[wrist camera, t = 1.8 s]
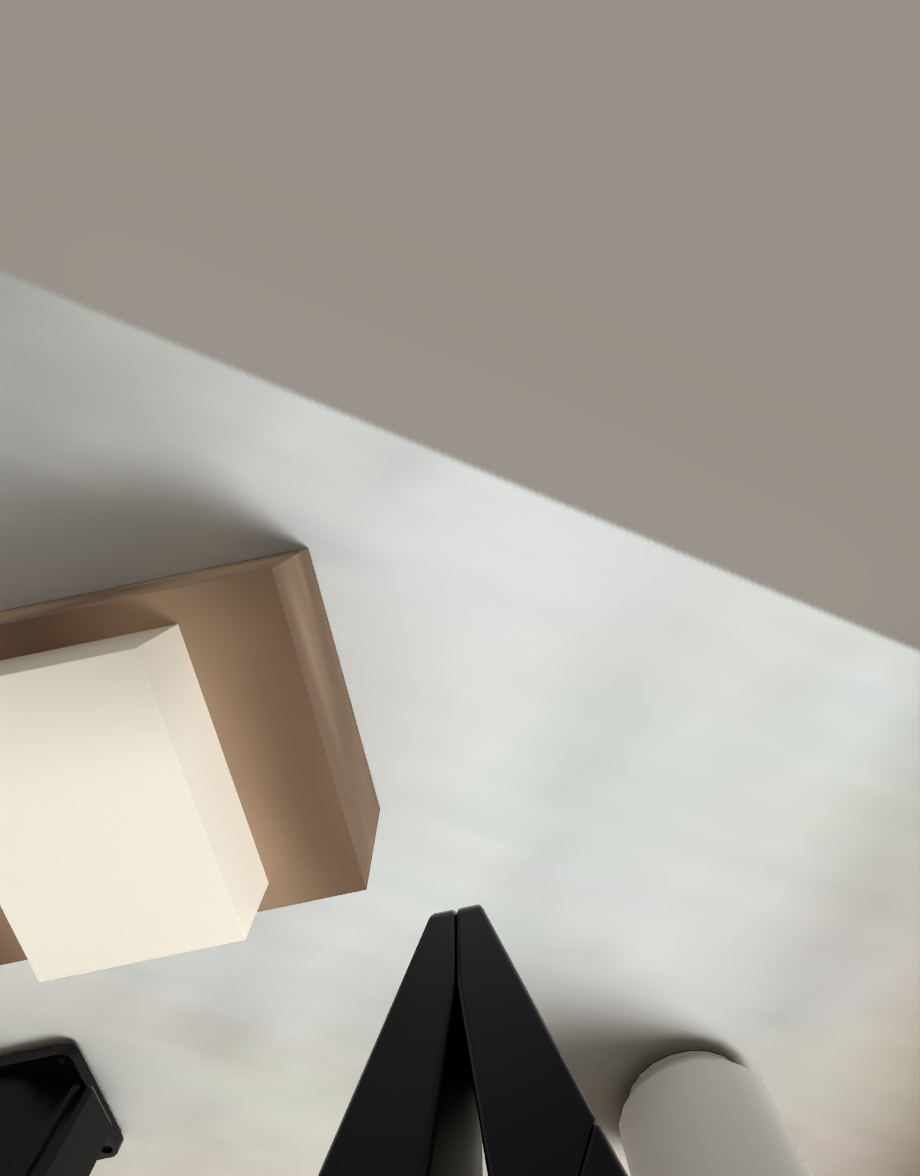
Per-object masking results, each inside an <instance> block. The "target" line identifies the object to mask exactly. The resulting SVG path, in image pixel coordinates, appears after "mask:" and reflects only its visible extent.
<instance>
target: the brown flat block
mask: <svg viewBox="0 0 920 1176" xmlns="http://www.w3.org/2000/svg"><path fill="white" fill-rule="evenodd" d="M175 624H178V626H179V628H180V631H181V634H182V637H183V640H184V643H185V646H186V648H187V651H188V654H189V657H190V660H191V663H192V666H193V668H194V671H195V674H196V677H197V680H198V683H199V686H200V688H201V691H202V694H203V697H204V700H205V703H206V706H207V708H208V711H209V714H210V717H211V720H212V723H213V726H214V728H215V731H216V734H217V737H218V740H219V743H220V746H221V748H222V751H223V754H224V757H225V760H226V763H227V766H228V768H229V771H230V774H231V777H232V780H233V783H234V786H235V788H236V791H237V794H238V797H239V800H240V803H241V806H242V808H243V811H244V814H245V817H246V820H247V823H248V826H249V828H250V831H251V834H252V837H253V840H254V843H255V846H256V848H257V851H258V854H259V857H260V860H261V863H262V866H263V868H264V871H265V874H266V877H267V880H268V883H269V884H268V886H267V888H266V891H265V893H264V896H263V898H262V901H261V903H260V905H259V908H258V910H257V912H260V911H265V910H270V909H274V908H279V907H284V906H289V905H294V904H299V903H303V902H308V901H313V900H318V899H323V898H328V897H333V896H337V895H342V894H347V893H352V892H357V891H362V890H366V889H367V883H368V877H369V871H370V865H371V859H372V853H373V847H374V842H375V836H376V830H377V824H378V818H379V812H380V807H379V804H378V800H377V797H376V793H375V789H374V786H373V782H372V778H371V775H370V771H369V767H368V764H367V760H366V757H365V753H364V749H363V746H362V742H361V738H360V735H359V731H358V727H357V724H356V720H355V716H354V713H353V709H352V706H351V702H350V698H349V695H348V691H347V687H346V684H345V680H344V676H343V673H342V669H341V666H340V662H339V658H338V655H337V651H336V647H335V644H334V640H333V636H332V633H331V629H330V625H329V622H328V618H327V615H326V611H325V607H324V604H323V600H322V596H321V593H320V589H319V585H318V582H317V578H316V575H315V571H314V567H313V564H312V560H311V556H310V553H309V549H308V548H305V549H300V550H295V551H290V552H286V553H281V554H276V555H271V556H266V557H261V558H256V559H252V560H247V561H242V562H237V563H232V564H227V565H222V566H218V567H213V568H208V569H203V570H198V571H193V572H188V573H184V574H179V575H174V576H169V577H164V578H159V579H154V580H150V581H145V582H140V583H135V584H130V585H125V586H120V587H116V588H111V589H106V590H101V591H96V592H91V593H86V594H82V595H77V596H72V597H67V598H62V599H57V600H52V601H48V602H43V603H38V604H33V605H28V606H23V607H18V608H14V609H9V610H4V611H0V661H1V660H5V659H10V658H15V657H20V656H25V655H30V654H35V653H39V652H44V651H49V650H54V649H59V648H64V647H69V646H73V645H78V644H83V643H88V642H93V641H98V640H103V639H107V638H112V637H117V636H122V635H127V634H132V633H137V632H141V631H146V630H151V629H156V628H161V627H166V626H171V625H175ZM22 960H27V957H26V955H25V953H24V951H23V949H22V947H21V945H20V943H19V941H18V939H17V937H16V935H15V933H14V931H13V929H12V927H11V926H10V924H9V922H8V920H7V918H6V916H5V914H4V912H3V910H2V908H1V906H0V965H3V964H8V963H13V962H18V961H22Z"/></svg>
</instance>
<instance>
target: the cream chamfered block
mask: <svg viewBox="0 0 920 1176" xmlns="http://www.w3.org/2000/svg"><path fill="white" fill-rule="evenodd" d="M268 884H269V883H268V880H267V877H266V874H265V871H264V868H263V866H262V863H261V860H260V857H259V854H258V851H257V848H256V846H255V843H254V840H253V837H252V834H251V831H250V828H249V826H248V823H247V820H246V817H245V814H244V811H243V808H242V806H241V803H240V800H239V797H238V794H237V791H236V788H235V786H234V783H233V780H232V777H231V774H230V771H229V768H228V766H227V763H226V760H225V757H224V754H223V751H222V748H221V746H220V743H219V740H218V737H217V734H216V731H215V728H214V726H213V723H212V720H211V717H210V714H209V711H208V708H207V706H206V703H205V700H204V697H203V694H202V691H201V688H200V686H199V683H198V680H197V677H196V674H195V671H194V668H193V666H192V663H191V660H190V657H189V654H188V651H187V648H186V646H185V643H184V640H183V637H182V634H181V631H180V628H179V626H178V624H175V625H171V626H166V627H161V628H156V629H151V630H146V631H141V632H137V633H132V634H127V635H122V636H117V637H112V638H107V639H103V640H98V641H93V642H88V643H83V644H78V645H73V646H69V647H64V648H59V649H54V650H49V651H44V652H39V653H35V654H30V655H25V656H20V657H15V658H10V659H5V660H1V661H0V906H1V908H2V910H3V912H4V914H5V916H6V918H7V920H8V922H9V924H10V926H11V927H12V929H13V931H14V933H15V935H16V937H17V939H18V941H19V943H20V945H21V947H22V949H23V951H24V953H25V955H26V957H27V959H28V961H29V963H30V965H31V967H32V969H33V971H34V973H35V975H36V976H37V978H38V980H39V982H44V981H48V980H53V979H58V978H63V977H68V976H73V975H78V974H82V973H87V972H92V971H97V970H102V969H107V968H111V967H116V966H121V965H126V964H131V963H136V962H141V961H145V960H150V959H155V958H160V957H165V956H170V955H174V954H179V953H184V952H189V951H194V950H199V949H204V948H208V947H213V946H218V945H223V944H228V943H233V942H237V941H242V940H246V937H247V935H248V932H249V930H250V927H251V925H252V923H253V920H254V918H255V915H256V913H257V910H258V908H259V905H260V903H261V901H262V898H263V896H264V893H265V891H266V888H267V886H268Z"/></svg>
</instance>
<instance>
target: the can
mask: <svg viewBox="0 0 920 1176" xmlns="http://www.w3.org/2000/svg"><path fill="white" fill-rule="evenodd" d="M619 1130H620V1136H621V1141H622V1145H623V1149H624V1152H625V1156H626V1159H627V1163H628V1167H629V1170H630V1174H631V1176H813V1174H812V1172H811V1170H810V1168H809V1166H808V1164H807V1163H806V1161H805V1159H804V1157H803V1155H802V1153H801V1151H800V1150H799V1148H798V1146H797V1144H796V1142H795V1140H794V1138H793V1137H792V1135H791V1133H790V1131H789V1129H788V1127H787V1125H786V1124H785V1122H784V1120H783V1118H782V1116H781V1114H780V1112H779V1111H778V1109H777V1107H776V1105H775V1103H774V1101H773V1099H772V1097H771V1096H770V1094H769V1092H768V1090H767V1089H766V1087H765V1085H764V1083H763V1082H762V1080H761V1078H759V1077H758V1076H757V1075H755V1074H754V1073H753V1072H751V1071H750V1070H749V1069H747V1068H746V1067H744V1066H742V1065H739V1064H736V1063H733V1062H731V1061H729V1060H728V1059H727V1058H725V1057H724V1056H721V1055H717V1054H714V1053H711V1052H706V1051H687V1052H683V1053H678V1054H673V1055H670V1056H668V1057H666V1058H663V1059H661V1060H659V1061H657V1062H655V1063H653V1064H652V1065H651V1066H650V1067H648V1068H647V1069H646V1070H645V1071H644V1072H642V1073H641V1074H640V1075H639V1077H638V1078H637V1080H636V1081H635V1083H634V1084H633V1086H632V1087H631V1091H630V1095H629V1098H628V1099H627V1101H626V1103H625V1105H624V1106H623V1110H622V1114H621V1118H620V1122H619Z"/></svg>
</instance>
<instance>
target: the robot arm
mask: <svg viewBox="0 0 920 1176" xmlns="http://www.w3.org/2000/svg"><path fill="white" fill-rule="evenodd" d="M123 1140H124V1139H123V1135H122V1133H121V1132H120V1130H119V1128H118V1126H117V1124H116V1122H115V1120H114V1118H113V1116H112V1114H111V1112H110V1110H109V1108H108V1106H107V1104H106V1102H105V1100H104V1098H103V1096H102V1094H101V1092H100V1090H99V1088H98V1086H97V1084H96V1082H95V1080H94V1078H93V1076H92V1074H91V1072H90V1070H89V1068H88V1066H87V1064H86V1062H85V1061H84V1059H83V1057H82V1055H81V1053H80V1051H79V1049H78V1048H77V1047H75V1046H74V1045H71V1044H63V1045H58V1046H53V1047H48V1048H44V1049H39V1050H34V1051H29V1052H24V1053H19V1054H15V1055H10V1056H5V1057H0V1176H89V1175H90V1173H91V1171H92V1169H93V1167H94V1165H95V1163H96V1161H97V1160H100V1159H105V1158H110V1157H113V1156H115V1155H116V1154H117V1153H118V1151H119V1149H120V1147H121V1144H122V1142H123ZM482 1142H483V1148H484V1154H485V1160H486V1166H487V1172H488V1176H628V1175H627V1173H626V1171H625V1169H624V1168H623V1166H622V1164H621V1162H620V1161H619V1159H618V1157H617V1155H616V1153H615V1151H614V1150H613V1148H612V1146H611V1144H610V1142H609V1140H608V1139H607V1137H606V1135H605V1133H604V1131H603V1129H602V1127H601V1126H600V1125H599V1124H597V1121H596V1117H595V1115H594V1113H593V1111H592V1110H591V1108H590V1106H589V1104H588V1102H587V1100H586V1098H585V1097H584V1095H583V1093H582V1091H581V1089H580V1087H579V1085H578V1084H577V1082H576V1080H575V1078H574V1076H573V1074H572V1072H571V1071H570V1069H569V1067H568V1065H567V1063H566V1061H565V1059H564V1058H563V1056H562V1054H561V1052H560V1050H559V1048H558V1046H557V1045H556V1043H555V1041H554V1039H553V1037H552V1035H551V1033H550V1032H549V1030H548V1028H547V1026H546V1024H545V1022H544V1021H543V1019H542V1017H541V1015H540V1013H539V1011H538V1009H537V1008H536V1006H535V1004H534V1002H533V1000H532V998H531V996H530V995H529V993H528V991H527V989H526V987H525V985H524V983H523V982H522V980H521V978H520V976H519V974H518V972H517V970H516V969H515V967H514V965H513V963H512V961H511V959H510V957H509V956H508V954H507V952H506V950H505V948H504V946H503V944H502V943H501V941H500V939H499V937H498V935H497V933H496V931H495V930H494V928H493V926H492V924H491V922H490V920H489V919H488V917H487V915H486V913H485V911H484V909H483V908H482V907H481V906H480V905H474V906H469V907H464V908H460V909H459V910H458V911H457V913H456V912H455V911H453V910H450V911H445V912H440V913H435V914H433V915H432V916H431V917H430V918H429V920H428V923H427V925H426V927H425V930H424V932H423V934H422V937H421V939H420V941H419V943H418V946H417V948H416V950H415V953H414V955H413V957H412V960H411V962H410V964H409V967H408V969H407V971H406V974H405V976H404V978H403V980H402V983H401V985H400V987H399V990H398V992H397V994H396V997H395V999H394V1001H393V1004H392V1006H391V1008H390V1011H389V1013H388V1015H387V1017H386V1020H385V1022H384V1024H383V1027H382V1029H381V1031H380V1034H379V1036H378V1038H377V1041H376V1043H375V1045H374V1047H373V1050H372V1052H371V1054H370V1057H369V1059H368V1061H367V1064H366V1066H365V1068H364V1071H363V1073H362V1075H361V1078H360V1080H359V1082H358V1084H357V1087H356V1089H355V1091H354V1094H353V1096H352V1098H351V1101H350V1103H349V1105H348V1108H347V1110H346V1112H345V1114H344V1117H343V1119H342V1121H341V1124H340V1126H339V1128H338V1131H337V1133H336V1135H335V1138H334V1140H333V1142H332V1145H331V1147H330V1149H329V1151H328V1154H327V1156H326V1158H325V1161H324V1163H323V1165H322V1168H321V1170H320V1172H319V1176H483V1172H482Z"/></svg>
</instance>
